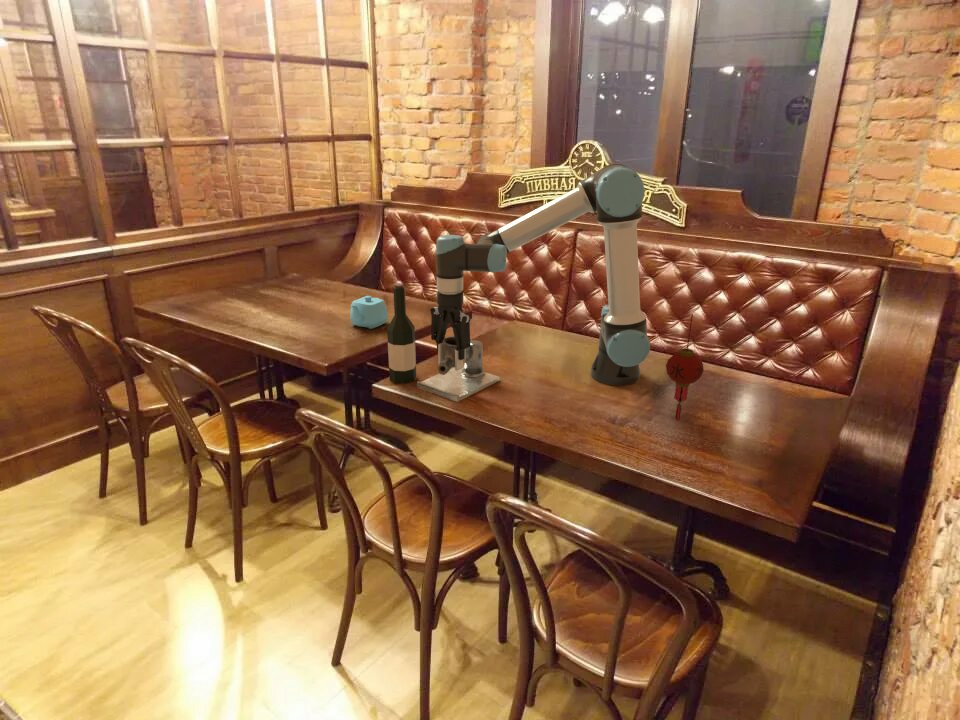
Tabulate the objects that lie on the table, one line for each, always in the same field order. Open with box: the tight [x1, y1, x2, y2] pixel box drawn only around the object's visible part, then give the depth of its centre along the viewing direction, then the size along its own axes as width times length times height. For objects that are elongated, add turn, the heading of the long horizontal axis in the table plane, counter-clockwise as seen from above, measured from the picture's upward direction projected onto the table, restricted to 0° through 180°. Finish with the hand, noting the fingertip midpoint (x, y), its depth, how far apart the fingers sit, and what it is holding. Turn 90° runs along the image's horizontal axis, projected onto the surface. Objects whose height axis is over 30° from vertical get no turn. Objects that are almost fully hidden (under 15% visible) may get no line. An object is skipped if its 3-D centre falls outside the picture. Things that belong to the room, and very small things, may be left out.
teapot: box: [349, 295, 389, 330], centre depth 237 cm, size 12×18×12 cm
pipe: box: [437, 335, 457, 375], centre depth 181 cm, size 6×13×8 cm, turn 166°
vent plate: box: [416, 339, 501, 403], centre depth 187 cm, size 16×21×11 cm
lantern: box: [665, 313, 705, 421], centre depth 162 cm, size 10×10×30 cm
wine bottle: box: [386, 283, 417, 385], centre depth 186 cm, size 8×8×30 cm
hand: (450, 366), depth 183 cm, fingers closed on pipe, 6 cm apart
